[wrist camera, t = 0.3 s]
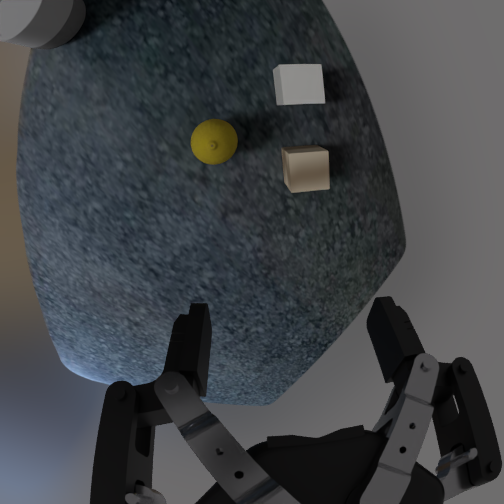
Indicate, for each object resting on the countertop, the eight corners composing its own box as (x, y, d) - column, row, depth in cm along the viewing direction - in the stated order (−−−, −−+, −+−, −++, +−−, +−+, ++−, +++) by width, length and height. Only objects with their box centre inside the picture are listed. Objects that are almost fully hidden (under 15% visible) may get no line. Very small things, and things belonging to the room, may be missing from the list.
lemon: (245, 133, 34) (249, 141, 27) (219, 165, 36) (217, 180, 29) (212, 109, 32) (206, 110, 25) (187, 142, 34) (175, 152, 27)
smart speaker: (66, 59, 25) (5, 53, 13) (34, 42, 21) (-23, 37, 9) (103, 6, 21) (54, -21, 9) (68, -7, 18) (18, -29, 6)
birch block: (281, 147, 35) (288, 153, 31) (316, 144, 35) (328, 150, 31) (284, 181, 38) (291, 192, 34) (318, 178, 38) (329, 188, 34)
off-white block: (272, 70, 30) (279, 64, 25) (309, 68, 30) (321, 64, 25) (276, 104, 32) (283, 104, 28) (313, 103, 32) (325, 103, 28)
